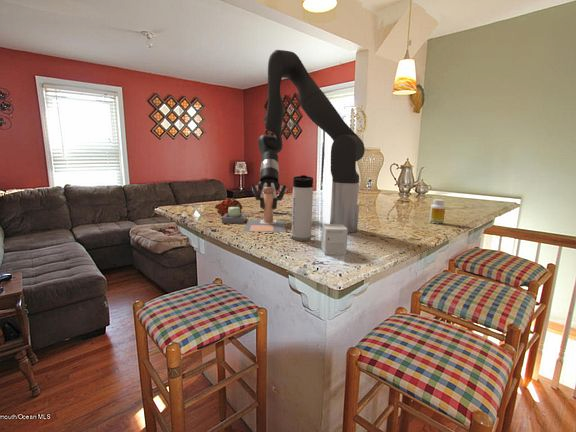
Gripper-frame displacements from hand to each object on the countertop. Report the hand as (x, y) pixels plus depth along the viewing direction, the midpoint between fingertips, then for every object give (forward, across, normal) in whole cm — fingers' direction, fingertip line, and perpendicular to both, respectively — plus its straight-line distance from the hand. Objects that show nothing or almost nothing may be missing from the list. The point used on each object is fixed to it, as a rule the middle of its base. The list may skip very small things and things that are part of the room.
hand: (268, 208), depth 114 cm
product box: (+26, +19, -16) cm, 36 cm away
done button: (+1, -13, +5) cm, 14 cm away
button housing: (+3, -13, +7) cm, 15 cm away
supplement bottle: (-1, +69, +11) cm, 70 cm away
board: (+8, -1, +2) cm, 8 cm away
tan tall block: (+3, 0, +5) cm, 6 cm away
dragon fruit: (-6, -17, +16) cm, 24 cm away
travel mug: (+17, +11, -7) cm, 21 cm away
